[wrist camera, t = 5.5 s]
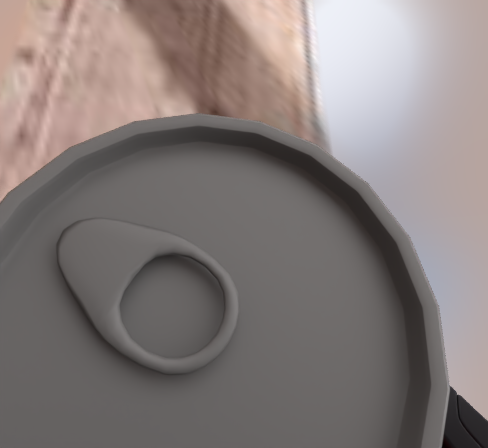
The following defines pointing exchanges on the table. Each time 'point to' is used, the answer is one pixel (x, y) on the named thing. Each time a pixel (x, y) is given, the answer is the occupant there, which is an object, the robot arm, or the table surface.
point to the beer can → (212, 298)
